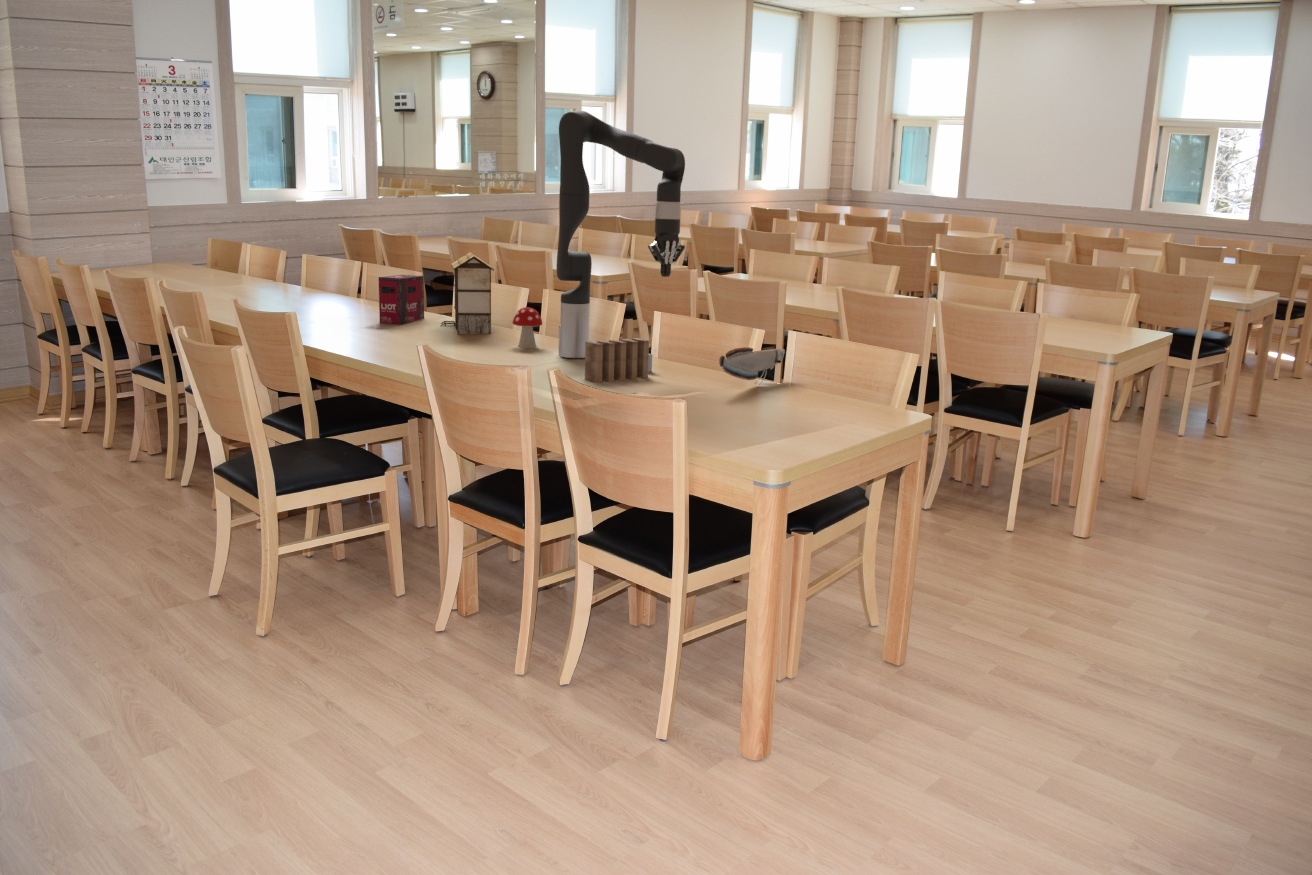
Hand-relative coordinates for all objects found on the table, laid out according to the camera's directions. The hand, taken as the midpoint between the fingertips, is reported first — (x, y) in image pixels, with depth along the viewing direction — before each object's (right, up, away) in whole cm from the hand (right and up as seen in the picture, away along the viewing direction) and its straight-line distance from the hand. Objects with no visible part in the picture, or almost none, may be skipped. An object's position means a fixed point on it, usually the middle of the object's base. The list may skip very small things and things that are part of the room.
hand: (665, 276), depth 302 cm
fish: (+25, -34, -13) cm, 44 cm away
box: (-99, -8, +79) cm, 127 cm away
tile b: (-11, -31, -5) cm, 33 cm away
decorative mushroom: (-46, -20, +36) cm, 62 cm away
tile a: (-8, -30, -3) cm, 31 cm away
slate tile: (-5, -26, +2) cm, 27 cm away
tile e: (-21, -32, -13) cm, 40 cm away
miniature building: (-73, -12, +66) cm, 99 cm away
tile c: (-14, -31, -8) cm, 35 cm away
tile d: (-18, -32, -10) cm, 38 cm away
